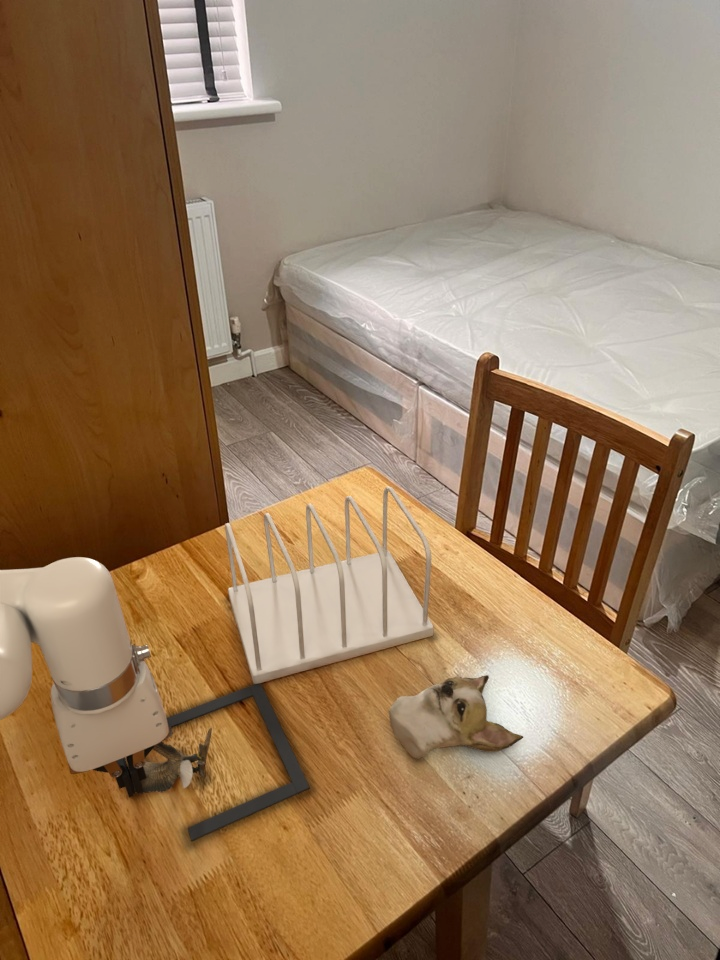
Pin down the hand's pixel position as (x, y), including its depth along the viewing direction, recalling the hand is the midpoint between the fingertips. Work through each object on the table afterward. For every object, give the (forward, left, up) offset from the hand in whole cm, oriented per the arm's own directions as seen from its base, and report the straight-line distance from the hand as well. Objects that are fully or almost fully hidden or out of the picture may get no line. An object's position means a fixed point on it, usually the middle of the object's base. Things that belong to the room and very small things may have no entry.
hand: (133, 783), depth 81 cm
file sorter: (+30, +15, -2) cm, 34 cm away
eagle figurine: (+4, +1, -2) cm, 5 cm away
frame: (+10, 0, -2) cm, 10 cm away
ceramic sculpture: (+35, -9, -2) cm, 36 cm away
